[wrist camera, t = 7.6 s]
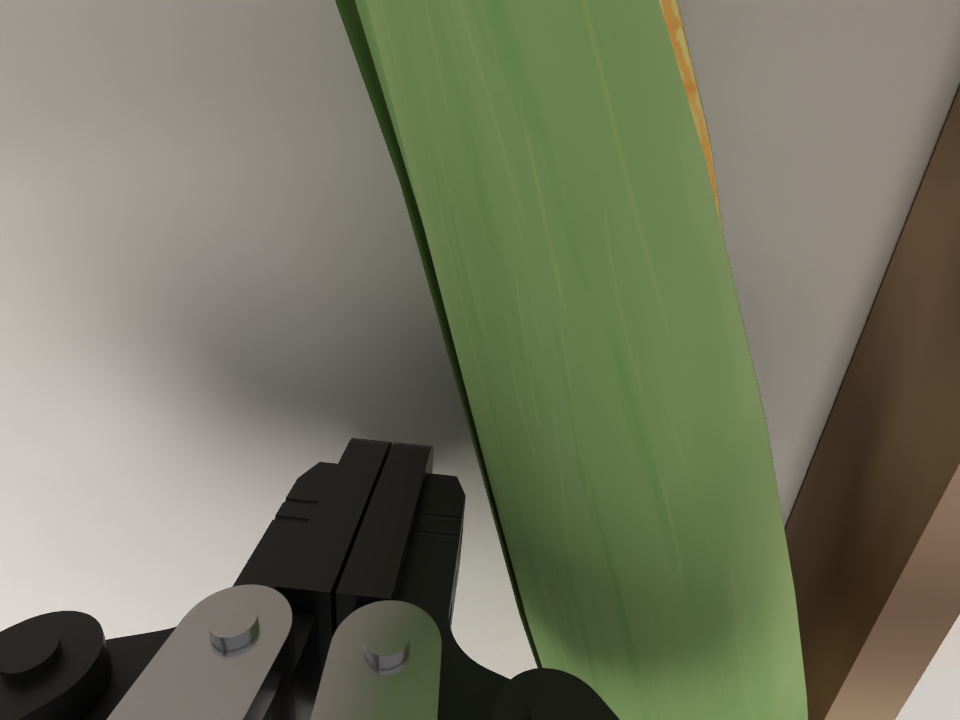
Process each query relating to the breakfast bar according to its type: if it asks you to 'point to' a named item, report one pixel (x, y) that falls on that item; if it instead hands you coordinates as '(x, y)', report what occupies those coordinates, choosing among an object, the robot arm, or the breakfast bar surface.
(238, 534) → the breakfast bar surface
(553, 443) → the edible corn
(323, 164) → the breakfast bar surface
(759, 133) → the breakfast bar surface
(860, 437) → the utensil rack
